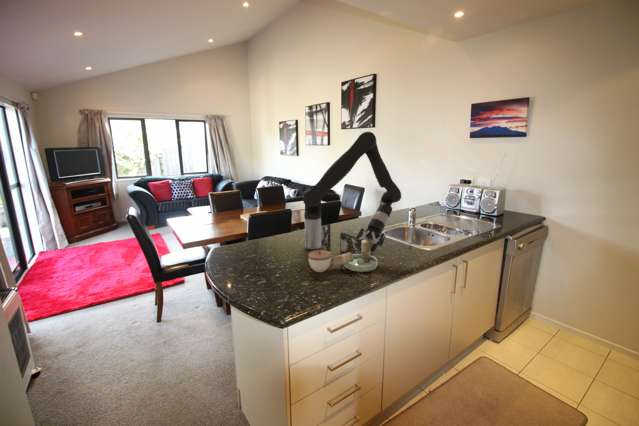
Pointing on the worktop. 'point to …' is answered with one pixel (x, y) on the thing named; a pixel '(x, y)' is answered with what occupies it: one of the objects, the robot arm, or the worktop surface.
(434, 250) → the worktop surface
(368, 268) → the ring dish
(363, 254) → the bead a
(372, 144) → the robot arm
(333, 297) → the worktop surface
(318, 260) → the lidded jar
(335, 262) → the beige banded cylinder
